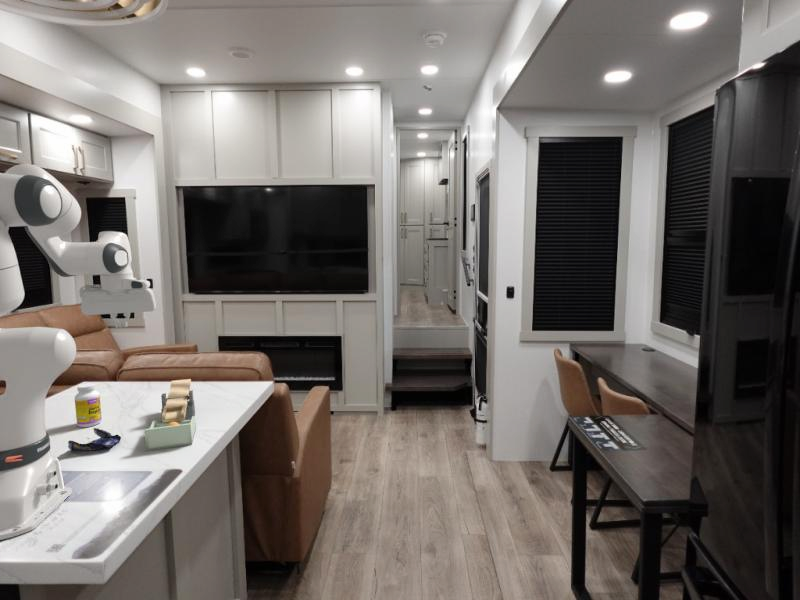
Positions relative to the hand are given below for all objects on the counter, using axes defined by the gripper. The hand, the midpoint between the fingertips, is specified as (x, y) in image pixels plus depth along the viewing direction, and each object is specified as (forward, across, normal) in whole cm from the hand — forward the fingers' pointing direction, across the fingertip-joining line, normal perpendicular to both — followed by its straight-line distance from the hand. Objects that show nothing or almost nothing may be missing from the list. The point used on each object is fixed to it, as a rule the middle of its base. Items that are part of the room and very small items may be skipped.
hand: (121, 327), depth 146 cm
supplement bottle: (+31, -12, +3) cm, 34 cm away
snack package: (+32, -4, -19) cm, 37 cm away
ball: (+29, +15, -17) cm, 37 cm away
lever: (+27, +15, -4) cm, 31 cm away
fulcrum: (+31, +15, -4) cm, 35 cm away
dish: (+31, +15, -20) cm, 40 cm away
